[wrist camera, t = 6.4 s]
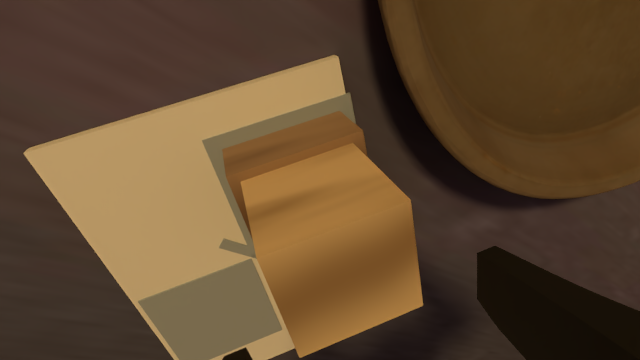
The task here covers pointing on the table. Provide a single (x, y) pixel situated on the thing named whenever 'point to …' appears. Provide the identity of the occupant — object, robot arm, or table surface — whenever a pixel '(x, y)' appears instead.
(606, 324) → the robot arm
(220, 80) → the table surface
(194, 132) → the board
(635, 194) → the table surface
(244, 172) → the walnut block
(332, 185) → the oak block
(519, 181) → the plant saucer
